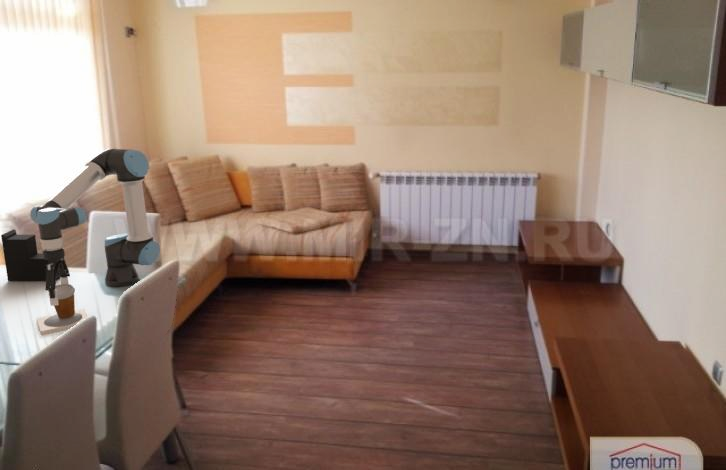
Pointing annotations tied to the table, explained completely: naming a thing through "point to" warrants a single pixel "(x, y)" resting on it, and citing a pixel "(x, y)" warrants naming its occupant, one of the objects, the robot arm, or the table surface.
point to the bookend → (23, 258)
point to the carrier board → (59, 322)
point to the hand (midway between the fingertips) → (60, 298)
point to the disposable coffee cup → (65, 301)
